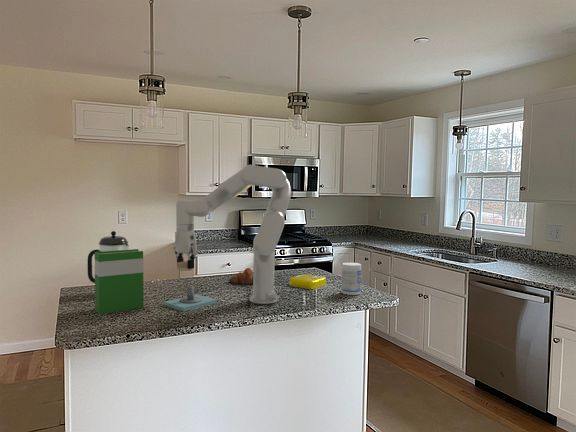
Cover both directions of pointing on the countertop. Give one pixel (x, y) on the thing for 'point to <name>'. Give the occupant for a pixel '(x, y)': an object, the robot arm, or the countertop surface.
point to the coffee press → (107, 249)
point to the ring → (183, 266)
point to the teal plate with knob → (190, 301)
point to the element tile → (307, 281)
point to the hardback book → (118, 280)
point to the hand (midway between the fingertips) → (185, 267)
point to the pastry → (243, 277)
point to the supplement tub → (351, 278)
